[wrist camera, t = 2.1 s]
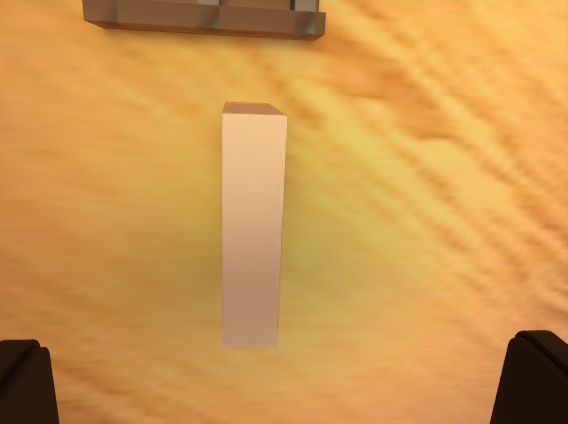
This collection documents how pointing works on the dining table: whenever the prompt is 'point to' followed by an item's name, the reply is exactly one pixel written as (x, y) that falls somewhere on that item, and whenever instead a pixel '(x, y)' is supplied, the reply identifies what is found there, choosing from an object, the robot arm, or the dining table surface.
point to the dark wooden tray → (212, 17)
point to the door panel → (251, 222)
